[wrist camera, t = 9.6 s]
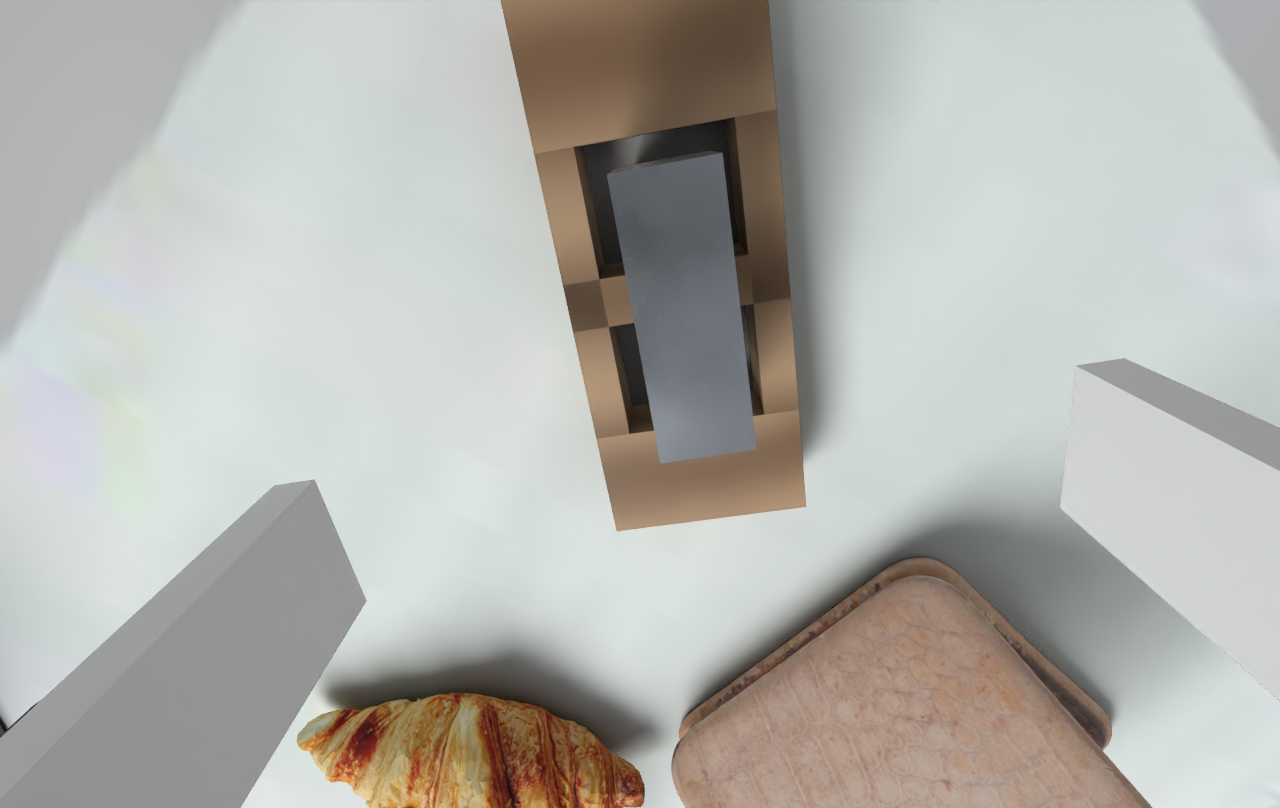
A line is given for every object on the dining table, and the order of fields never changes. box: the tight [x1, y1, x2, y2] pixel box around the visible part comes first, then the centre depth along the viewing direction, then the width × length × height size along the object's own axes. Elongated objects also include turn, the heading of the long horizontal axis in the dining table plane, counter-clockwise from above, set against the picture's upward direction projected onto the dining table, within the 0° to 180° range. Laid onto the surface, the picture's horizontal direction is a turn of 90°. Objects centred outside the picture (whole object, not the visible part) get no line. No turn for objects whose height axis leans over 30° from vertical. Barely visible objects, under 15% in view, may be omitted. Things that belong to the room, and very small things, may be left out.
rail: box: [501, 0, 806, 531], centre depth 26 cm, size 22×9×3 cm, turn 10°
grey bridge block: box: [607, 150, 757, 464], centre depth 24 cm, size 10×4×8 cm, turn 10°
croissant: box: [297, 693, 645, 808], centre depth 37 cm, size 21×10×8 cm, turn 81°
